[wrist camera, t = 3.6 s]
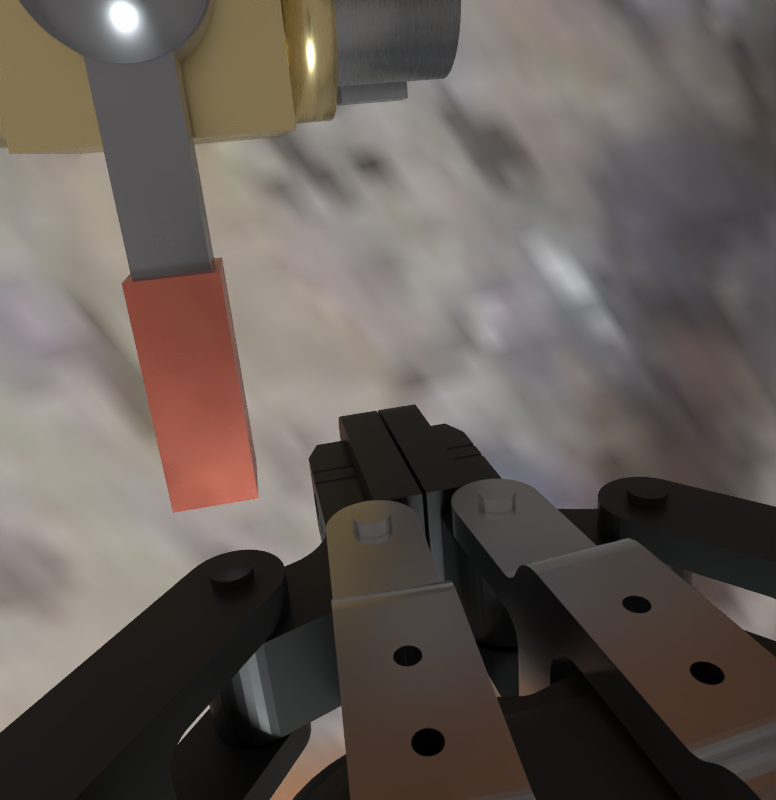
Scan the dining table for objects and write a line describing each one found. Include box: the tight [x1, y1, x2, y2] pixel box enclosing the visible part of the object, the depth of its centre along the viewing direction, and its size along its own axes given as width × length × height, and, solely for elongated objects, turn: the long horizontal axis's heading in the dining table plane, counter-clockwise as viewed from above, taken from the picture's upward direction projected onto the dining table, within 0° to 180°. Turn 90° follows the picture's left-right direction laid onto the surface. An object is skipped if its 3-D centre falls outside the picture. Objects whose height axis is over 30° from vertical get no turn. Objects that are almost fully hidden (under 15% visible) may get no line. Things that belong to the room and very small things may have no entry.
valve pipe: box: [0, 0, 461, 154], centre depth 20 cm, size 18×7×8 cm, turn 94°
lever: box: [19, 0, 258, 513], centre depth 16 cm, size 14×4×2 cm, turn 4°
